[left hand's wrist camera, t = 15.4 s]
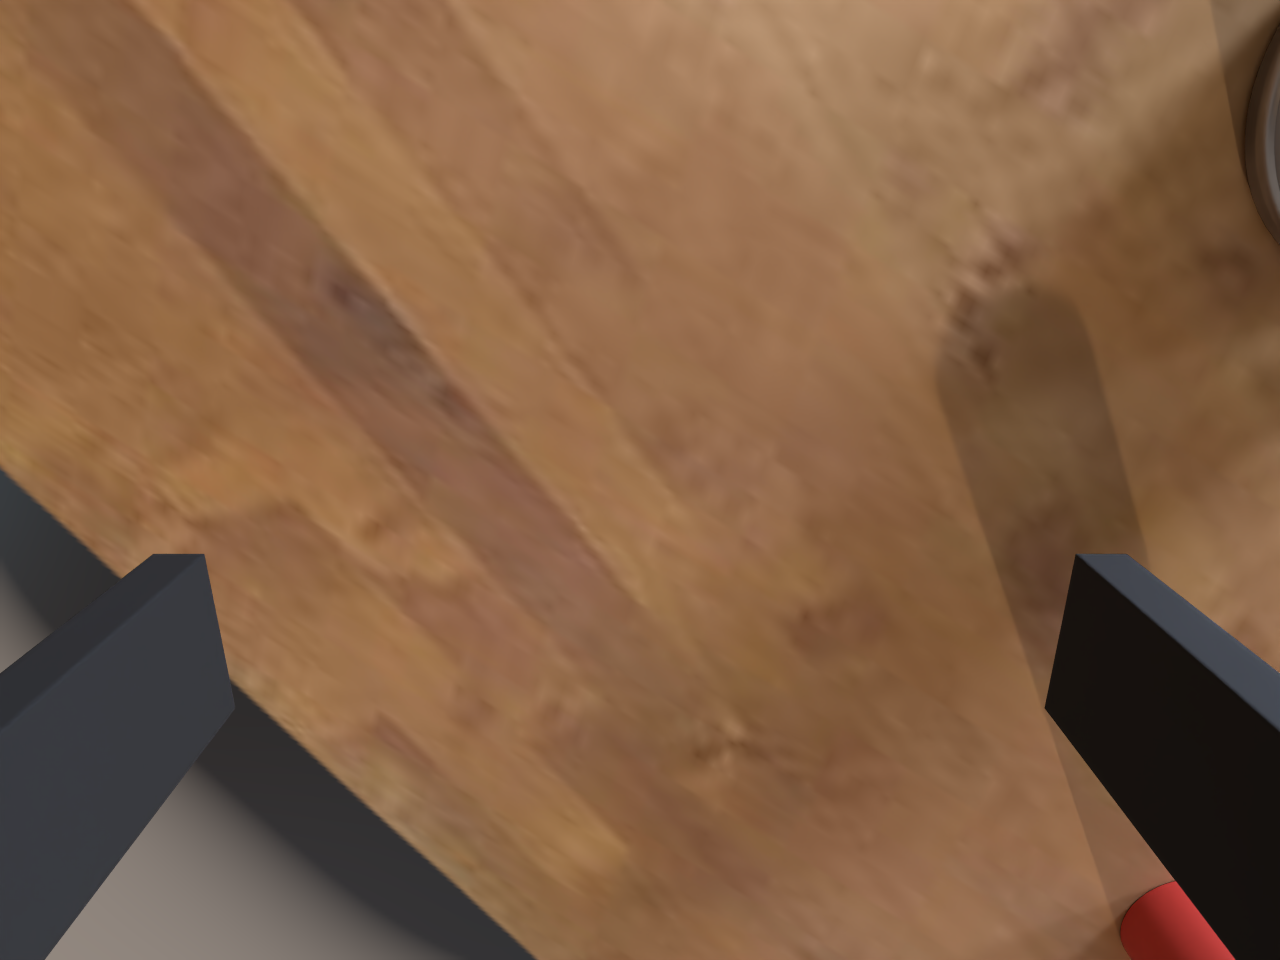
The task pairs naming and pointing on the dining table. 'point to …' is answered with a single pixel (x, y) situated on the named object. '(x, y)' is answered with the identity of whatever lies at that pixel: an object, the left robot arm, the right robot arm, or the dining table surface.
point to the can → (1169, 928)
